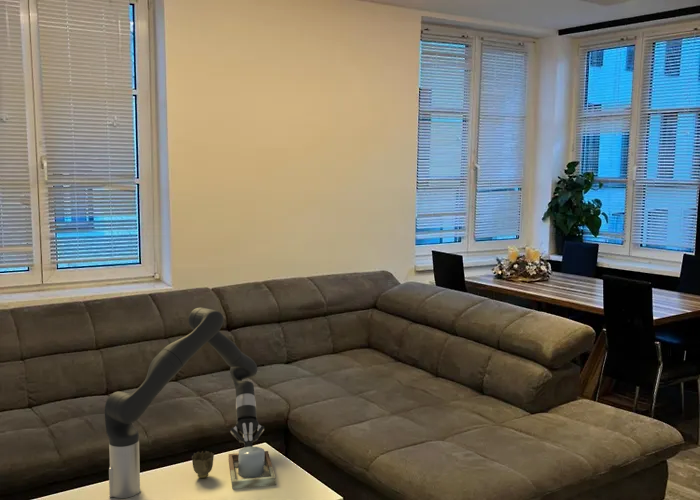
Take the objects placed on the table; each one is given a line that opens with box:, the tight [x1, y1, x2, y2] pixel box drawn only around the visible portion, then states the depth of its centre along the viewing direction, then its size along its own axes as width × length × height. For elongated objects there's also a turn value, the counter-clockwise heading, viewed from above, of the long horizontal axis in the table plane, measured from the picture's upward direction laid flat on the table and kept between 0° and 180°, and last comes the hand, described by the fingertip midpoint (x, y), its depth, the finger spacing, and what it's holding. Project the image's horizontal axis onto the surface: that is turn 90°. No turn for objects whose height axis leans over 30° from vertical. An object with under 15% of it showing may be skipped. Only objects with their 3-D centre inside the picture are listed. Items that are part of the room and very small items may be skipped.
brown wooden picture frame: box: [228, 450, 277, 490], centre depth 237 cm, size 14×23×2 cm, turn 13°
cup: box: [191, 450, 215, 480], centre depth 232 cm, size 8×7×8 cm
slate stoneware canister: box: [237, 446, 266, 479], centre depth 236 cm, size 9×9×8 cm
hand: (249, 452), depth 244 cm, fingers closed
